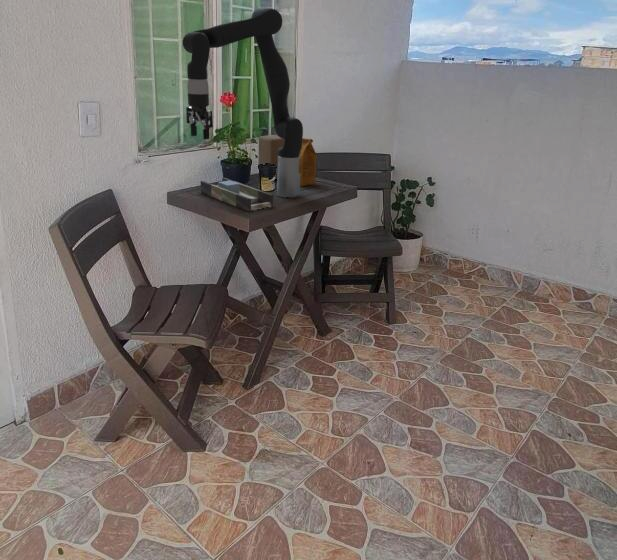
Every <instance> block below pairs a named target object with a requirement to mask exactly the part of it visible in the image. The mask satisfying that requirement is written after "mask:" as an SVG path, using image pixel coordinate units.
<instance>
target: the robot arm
mask: <svg viewBox="0 0 617 560" xmlns="http://www.w3.org/2000/svg"><path fill="white" fill-rule="evenodd" d="M282 27H283V17H282V14H281V13H280V12H279V11H278V10H277V9H276V8H271V7H260V8H256V9H255V10H253V12H252V13H251V17H250V18H247V19H242V20H235V21H230V22H229V21H228V22H226V23H221V24H218V25H214V26H212V27H208V28H206V29H205V28H203V29H199V30H194V31H190V32H187V33H186V34H185V35H184V36H183V38H182V46H183V49H184V51H186V52H188V53H189V54H191V60H190V61H189V62H188V63H187V65H186V66H187V68H186V72H187V83H186V84H187V86H186V87H187V105H188V106H186V107H185V108H186V110H185V112H186V117H185V118H186V124H188V125H189V126H190V136H192V137H197V136H198V130H197V128H198V127H197V125H198V122H199V124H200V125H201V127H202V137H203V140H210V129H211V128H214V125H213V124H214V120H213V110H208V109H207V107H209V106H210V97H209V96H210V95H209V94H210V92H209V81H208V80H209V79H208V64H209V60H210V51H211V49H216V48H217V49H218V48H221V47H224V46H228V45H230V44H234V43H236V42H237V43H238V42H239V41H243V40H247V39H249V38H253V37H254V38H255V40H256V41H255V42H256V44H257V47H258V50H259V56H260V59H261V65H262V68H263V72H264V77H265V83H266V85H267V90H268V94H269V99H270V106H271V109H272V119H273V125H274V130H275V131H274V132H275V133H276V136H279V137H280V138H283V139H285V141H284V146H283V147H282V148H279V149H278V172H277V180H276V184H277V185H276V195H277V196H278V197H281V198H286V197H289V198H290V197H291V198H297V197H298V196H300V190H301V186H300V173H299V154H300V151H301V148H302V138H303V136H304V128H303V123H302V121H301V120H300V119H298V118H297V117H292V116H290V114H289V109H288V102H287V101H288V98H289V97H288V96H289V93H290V92H289V91H290V85H291V84H290V83H291V82H290V78H289V77H290V76H289V71H288V67H287V65H286V63H285V61H284V59H283V57H282V56H281V54H280V52H279V51H278V49H277V47H276V44H275V41H274V37H273V35H275V34H277V33H279V32H280V31H281V29H282ZM289 198H288V199H289ZM291 198H290V199H291Z"/></svg>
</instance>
